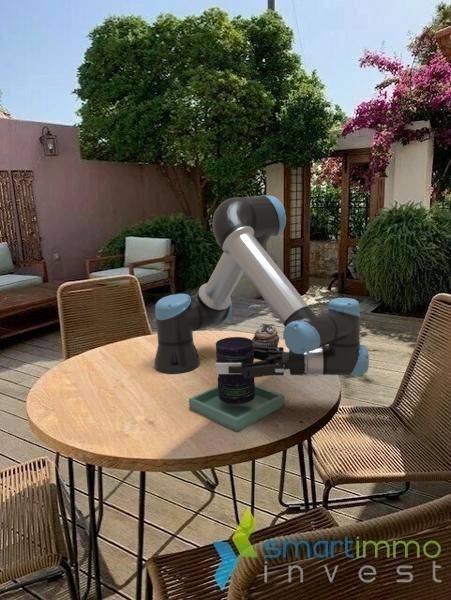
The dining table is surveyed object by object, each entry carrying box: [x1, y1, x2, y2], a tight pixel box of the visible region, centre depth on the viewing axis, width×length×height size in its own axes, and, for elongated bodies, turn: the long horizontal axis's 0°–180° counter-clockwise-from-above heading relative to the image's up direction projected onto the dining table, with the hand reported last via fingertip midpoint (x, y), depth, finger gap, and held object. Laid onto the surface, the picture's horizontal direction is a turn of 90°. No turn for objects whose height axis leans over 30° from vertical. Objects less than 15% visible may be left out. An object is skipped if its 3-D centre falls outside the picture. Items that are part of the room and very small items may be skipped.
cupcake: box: [251, 323, 280, 347], centre depth 162 cm, size 10×10×10 cm
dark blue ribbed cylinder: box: [215, 336, 256, 404], centre depth 120 cm, size 10×10×15 cm
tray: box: [188, 384, 285, 433], centre depth 123 cm, size 18×18×3 cm
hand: (218, 360), depth 120 cm, fingers closed on dark blue ribbed cylinder, 10 cm apart
